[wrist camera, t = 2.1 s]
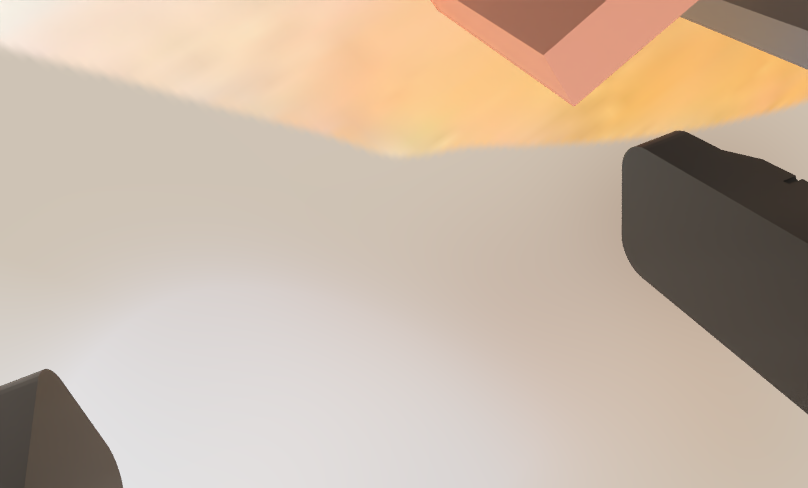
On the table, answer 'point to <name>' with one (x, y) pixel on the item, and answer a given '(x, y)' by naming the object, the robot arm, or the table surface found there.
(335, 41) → the table surface
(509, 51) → the domino
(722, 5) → the domino
